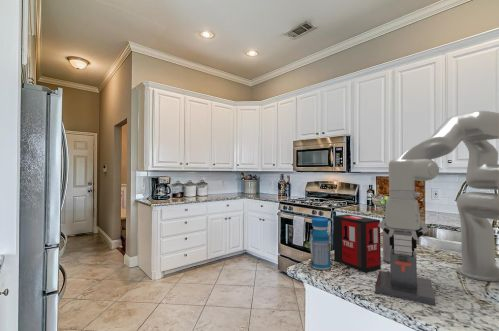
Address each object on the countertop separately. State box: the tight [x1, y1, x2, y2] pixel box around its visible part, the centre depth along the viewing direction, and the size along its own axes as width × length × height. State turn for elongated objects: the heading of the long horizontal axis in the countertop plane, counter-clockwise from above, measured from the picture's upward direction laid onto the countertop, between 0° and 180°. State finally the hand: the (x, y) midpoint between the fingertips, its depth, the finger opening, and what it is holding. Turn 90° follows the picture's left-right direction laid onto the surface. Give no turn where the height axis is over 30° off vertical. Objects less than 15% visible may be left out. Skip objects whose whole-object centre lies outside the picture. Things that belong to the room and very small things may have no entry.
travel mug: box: [381, 216, 394, 265], centre depth 113 cm, size 6×7×20 cm
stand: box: [374, 249, 436, 306], centre depth 86 cm, size 16×16×12 cm
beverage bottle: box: [309, 217, 332, 271], centre depth 108 cm, size 8×8×20 cm
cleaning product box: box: [333, 213, 382, 274], centre depth 110 cm, size 16×9×20 cm, turn 27°
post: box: [393, 229, 412, 257], centre depth 87 cm, size 5×5×17 cm
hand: (403, 248), depth 87 cm, fingers closed on post, 5 cm apart
